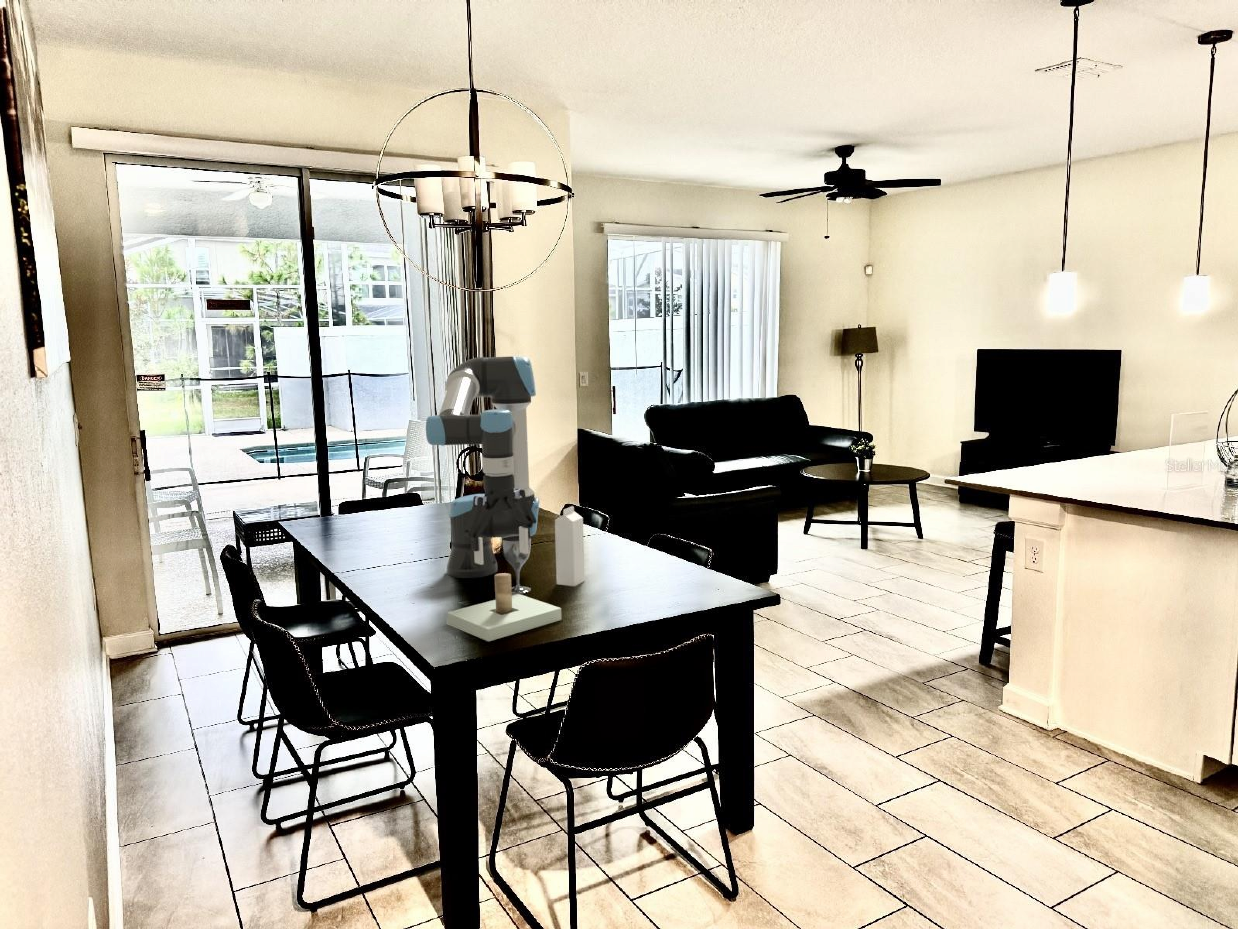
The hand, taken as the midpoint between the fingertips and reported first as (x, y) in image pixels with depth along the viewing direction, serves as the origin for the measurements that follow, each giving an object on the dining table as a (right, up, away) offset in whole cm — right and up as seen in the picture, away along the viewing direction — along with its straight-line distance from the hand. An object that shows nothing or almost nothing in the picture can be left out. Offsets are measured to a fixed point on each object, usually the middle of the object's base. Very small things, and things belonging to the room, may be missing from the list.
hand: (502, 558), depth 217 cm
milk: (+15, -11, +36) cm, 40 cm away
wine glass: (+1, -12, +29) cm, 32 cm away
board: (0, -16, +2) cm, 16 cm away
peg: (0, -16, +2) cm, 16 cm away
